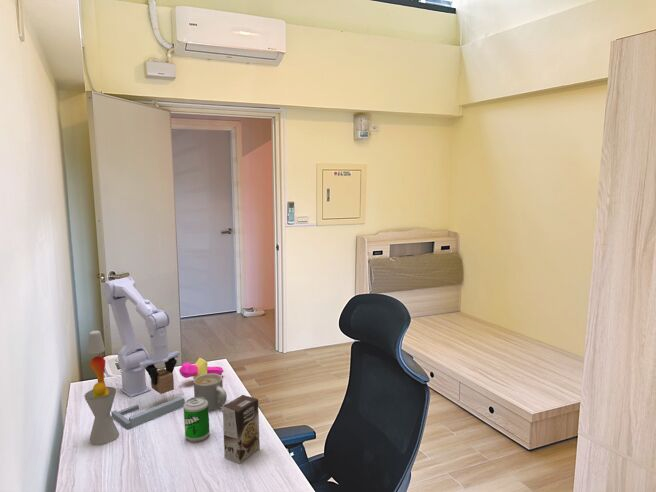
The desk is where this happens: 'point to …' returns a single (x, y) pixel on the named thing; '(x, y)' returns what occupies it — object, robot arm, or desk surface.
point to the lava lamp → (100, 396)
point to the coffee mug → (210, 390)
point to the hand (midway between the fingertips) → (161, 381)
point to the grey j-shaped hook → (146, 413)
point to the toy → (198, 369)
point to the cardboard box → (163, 381)
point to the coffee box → (241, 428)
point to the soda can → (196, 419)
